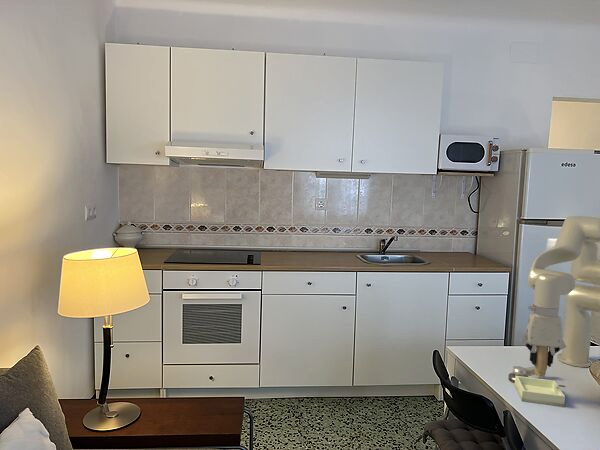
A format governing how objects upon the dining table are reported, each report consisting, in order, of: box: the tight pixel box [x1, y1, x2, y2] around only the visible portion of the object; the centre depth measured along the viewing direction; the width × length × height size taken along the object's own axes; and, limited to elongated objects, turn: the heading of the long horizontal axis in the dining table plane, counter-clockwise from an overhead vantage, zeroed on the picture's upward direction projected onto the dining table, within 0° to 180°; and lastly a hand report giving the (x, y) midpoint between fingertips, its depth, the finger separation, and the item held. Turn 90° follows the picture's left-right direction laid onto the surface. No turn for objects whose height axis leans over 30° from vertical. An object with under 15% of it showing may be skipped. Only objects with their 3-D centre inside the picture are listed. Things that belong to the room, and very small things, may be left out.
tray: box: [514, 376, 566, 408], centre depth 161 cm, size 13×13×4 cm
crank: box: [512, 365, 536, 377], centre depth 174 cm, size 14×4×5 cm, turn 111°
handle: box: [533, 346, 549, 378], centre depth 159 cm, size 5×6×15 cm
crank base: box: [507, 372, 566, 388], centre depth 171 cm, size 7×19×2 cm, turn 76°
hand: (540, 363), depth 160 cm, fingers closed on handle, 4 cm apart
